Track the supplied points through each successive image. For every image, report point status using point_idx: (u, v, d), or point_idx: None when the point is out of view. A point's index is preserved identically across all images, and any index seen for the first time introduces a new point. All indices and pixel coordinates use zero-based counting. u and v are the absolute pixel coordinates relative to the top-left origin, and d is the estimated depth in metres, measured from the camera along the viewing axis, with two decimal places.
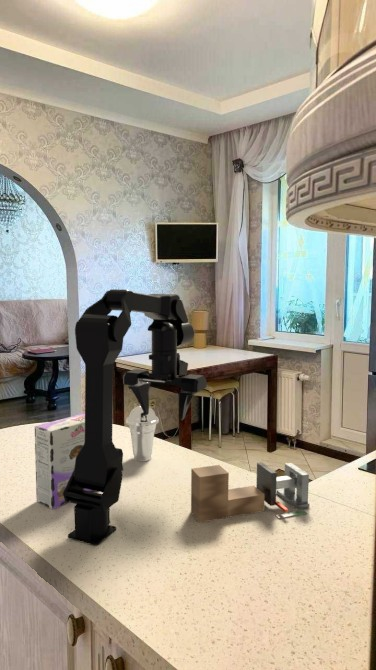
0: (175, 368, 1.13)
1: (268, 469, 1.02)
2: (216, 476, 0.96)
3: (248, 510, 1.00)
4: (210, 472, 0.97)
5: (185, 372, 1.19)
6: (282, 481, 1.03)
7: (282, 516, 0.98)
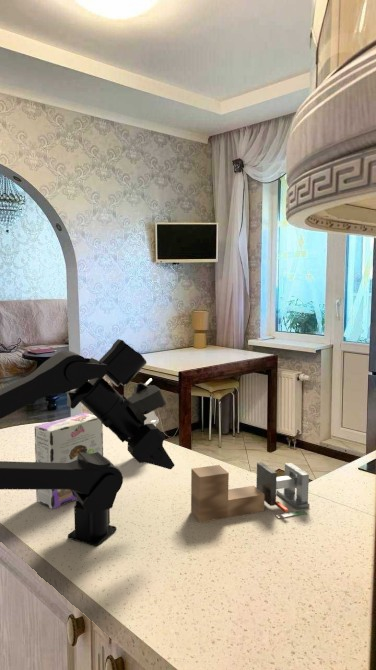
0: (127, 423, 0.89)
1: (268, 469, 1.02)
2: (216, 476, 0.96)
3: (248, 510, 1.00)
4: (210, 472, 0.97)
5: (158, 404, 0.91)
6: (282, 481, 1.03)
7: (282, 516, 0.98)
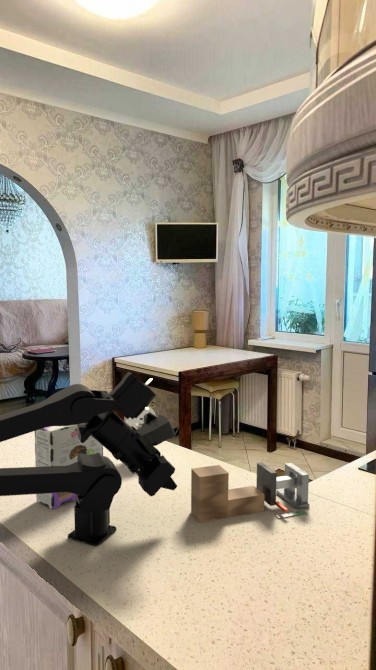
0: (137, 456, 0.90)
1: (268, 469, 1.02)
2: (216, 476, 0.96)
3: (248, 510, 1.00)
4: (210, 472, 0.97)
5: (167, 436, 0.92)
6: (282, 481, 1.03)
7: (282, 516, 0.98)
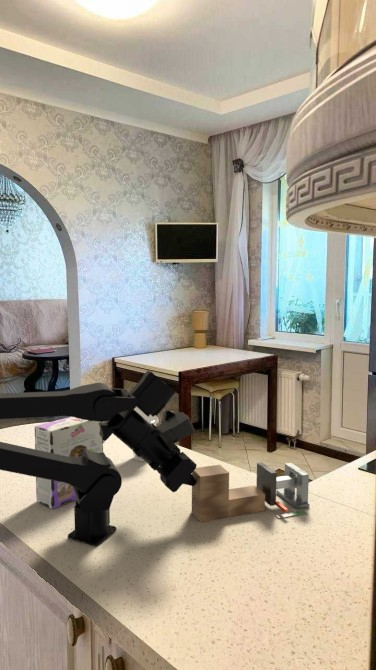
0: (158, 452, 0.91)
1: (268, 469, 1.02)
2: (217, 476, 0.96)
3: (249, 510, 1.00)
4: (211, 472, 0.97)
5: (187, 432, 0.93)
6: (282, 481, 1.03)
7: (282, 516, 0.98)
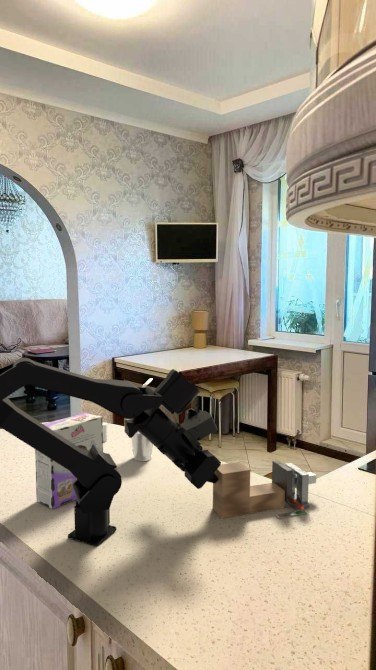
0: (182, 450, 0.93)
1: (284, 467, 1.03)
2: (238, 473, 0.98)
3: (269, 506, 1.01)
4: (232, 469, 0.99)
5: (210, 430, 0.95)
6: None
7: (282, 516, 0.98)
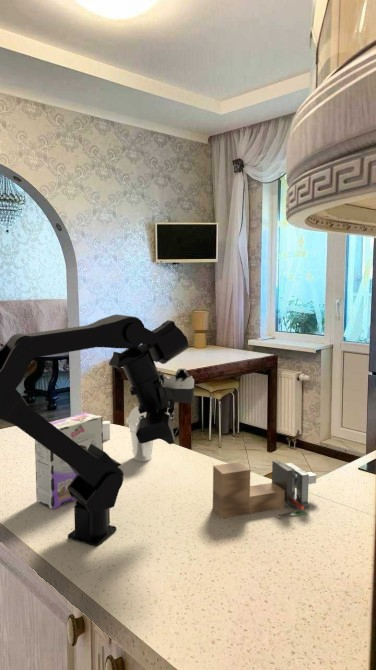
0: (150, 401, 0.93)
1: (284, 467, 1.03)
2: (238, 473, 0.98)
3: (269, 506, 1.01)
4: (232, 469, 0.99)
5: (185, 400, 0.93)
6: None
7: (282, 516, 0.98)
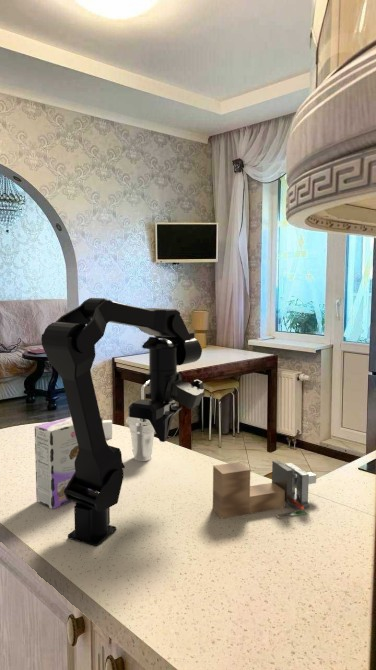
0: (156, 390, 1.02)
1: (284, 467, 1.03)
2: (238, 473, 0.98)
3: (269, 506, 1.01)
4: (232, 469, 0.99)
5: (185, 403, 1.00)
6: None
7: (282, 516, 0.98)
